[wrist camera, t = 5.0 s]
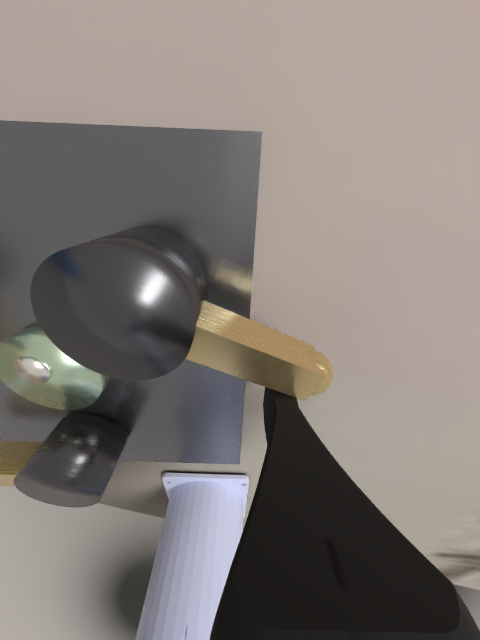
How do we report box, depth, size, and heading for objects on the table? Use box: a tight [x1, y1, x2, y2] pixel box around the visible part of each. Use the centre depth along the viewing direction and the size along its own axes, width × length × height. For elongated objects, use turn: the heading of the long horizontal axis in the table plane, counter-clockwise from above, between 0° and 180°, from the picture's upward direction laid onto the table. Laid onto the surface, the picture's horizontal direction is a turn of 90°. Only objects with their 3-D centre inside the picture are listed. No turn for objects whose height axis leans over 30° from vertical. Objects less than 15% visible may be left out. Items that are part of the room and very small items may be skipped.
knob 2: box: [30, 227, 333, 400], centre depth 8 cm, size 10×4×3 cm, turn 65°
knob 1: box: [0, 414, 127, 507], centre depth 13 cm, size 10×4×3 cm, turn 88°
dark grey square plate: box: [0, 121, 262, 464], centre depth 12 cm, size 20×20×2 cm
